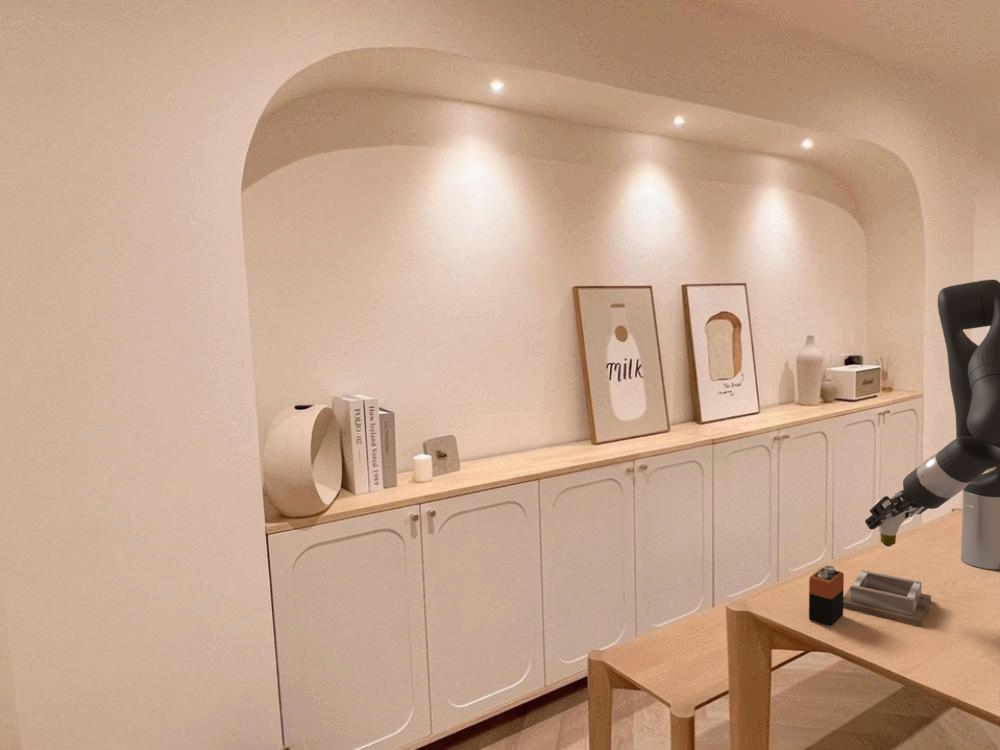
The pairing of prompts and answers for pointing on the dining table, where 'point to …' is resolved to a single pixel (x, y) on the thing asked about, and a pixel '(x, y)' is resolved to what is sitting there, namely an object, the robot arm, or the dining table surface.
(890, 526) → the light bulb
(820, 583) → the battery
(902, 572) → the dining table surface
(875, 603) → the frame
